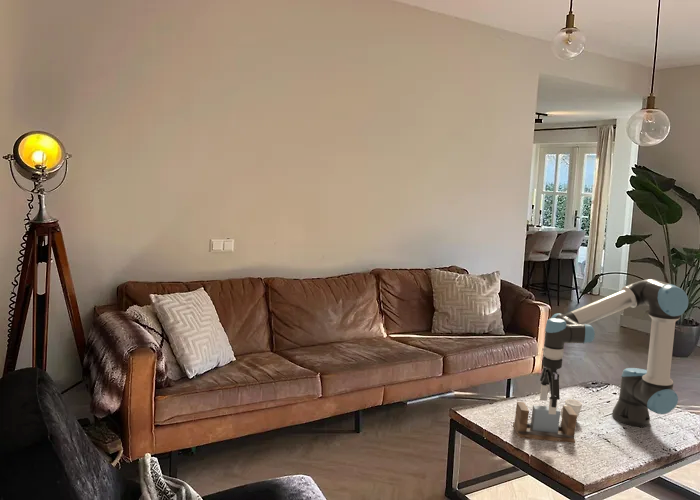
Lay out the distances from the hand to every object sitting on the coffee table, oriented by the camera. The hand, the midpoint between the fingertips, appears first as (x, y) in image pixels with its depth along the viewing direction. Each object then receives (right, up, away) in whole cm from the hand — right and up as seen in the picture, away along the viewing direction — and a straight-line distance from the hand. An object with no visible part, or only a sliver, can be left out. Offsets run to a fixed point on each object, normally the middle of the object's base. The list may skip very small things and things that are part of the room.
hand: (547, 406), depth 240 cm
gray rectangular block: (-1, -10, +2) cm, 11 cm away
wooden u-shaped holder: (-1, -11, +2) cm, 12 cm away
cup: (+15, -10, +17) cm, 25 cm away
